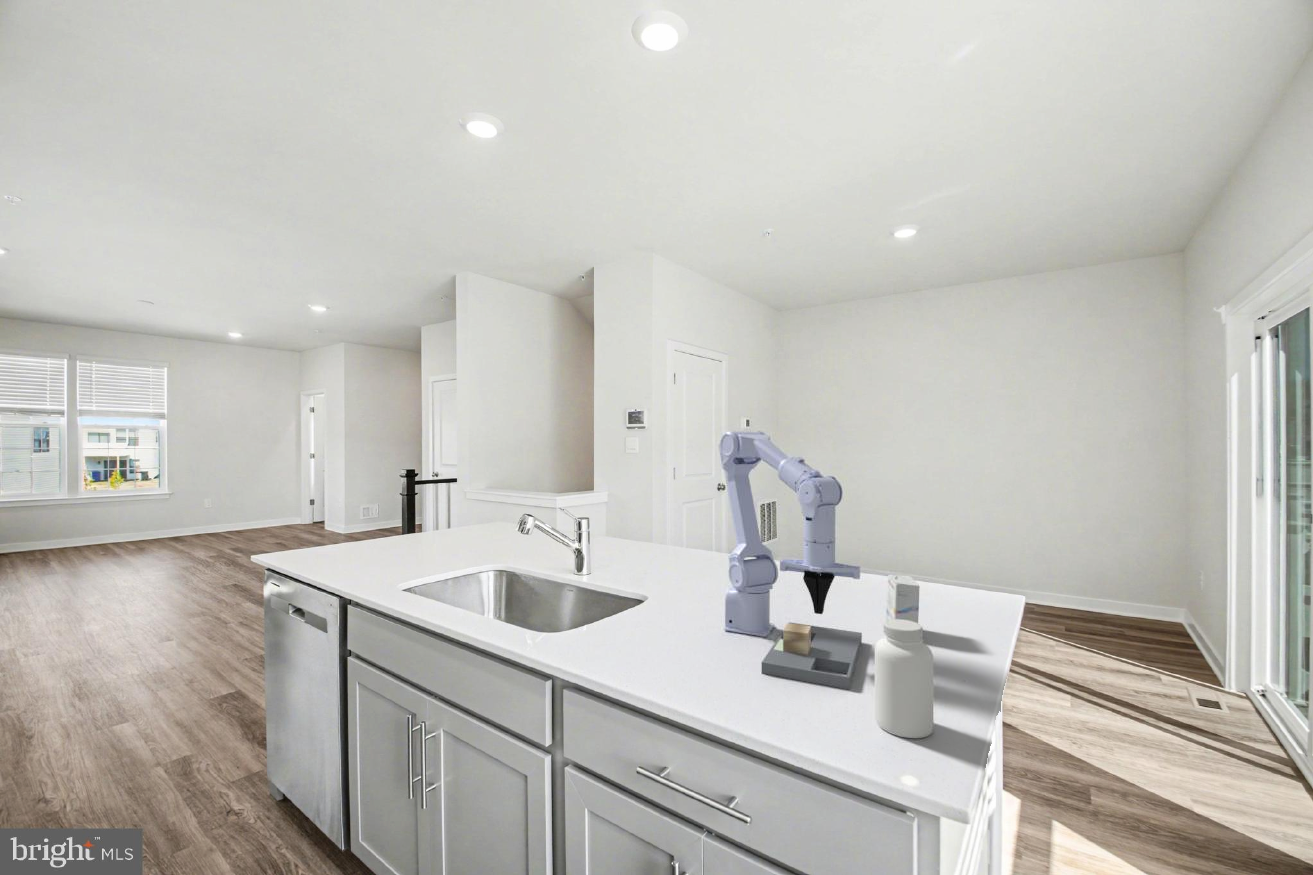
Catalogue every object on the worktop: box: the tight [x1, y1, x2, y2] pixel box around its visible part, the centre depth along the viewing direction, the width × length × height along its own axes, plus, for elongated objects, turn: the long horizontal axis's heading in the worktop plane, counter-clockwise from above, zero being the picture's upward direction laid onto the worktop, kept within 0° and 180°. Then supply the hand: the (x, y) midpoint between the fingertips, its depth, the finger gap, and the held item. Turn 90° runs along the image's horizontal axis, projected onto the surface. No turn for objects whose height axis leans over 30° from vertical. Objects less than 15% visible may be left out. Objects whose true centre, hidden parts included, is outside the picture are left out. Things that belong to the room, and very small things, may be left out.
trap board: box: [761, 622, 863, 690], centre depth 109 cm, size 15×24×2 cm, turn 155°
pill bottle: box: [874, 619, 934, 739], centre depth 83 cm, size 8×8×15 cm
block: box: [782, 622, 812, 655], centre depth 107 cm, size 4×4×4 cm
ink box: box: [885, 573, 920, 624], centre depth 122 cm, size 9×5×12 cm, turn 168°
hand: (818, 612), depth 106 cm, fingers closed
